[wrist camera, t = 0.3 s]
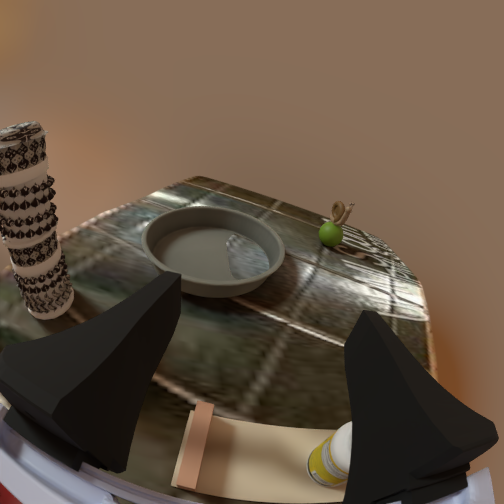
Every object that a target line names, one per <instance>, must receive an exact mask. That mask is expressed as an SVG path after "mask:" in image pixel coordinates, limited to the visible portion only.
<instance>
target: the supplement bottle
mask: <svg viewBox="0 0 504 504" xmlns="http://www.w3.org/2000/svg"><path fill="white" fill-rule="evenodd" d="M351 444H352V421H351V422H349V423H347V424H345V425H343V426H342V427H341V428H339V429H338V430H337V431H336V432H335V433H334V434H332V435H331V436H330V437H329V438H327V439H326V440H325V441H324V442H323V443H321V444H320V445H319V446H317V447H316V448H315V449H314V450H313V451H312V452H311V453H310V455H309V457H308V459H307V464H306V467H307V472H308V475H309V476H310V478H311V479H312V480H313V481H314V482H315V483H317V484H319V485H321V486H324V487H335V486H339V485H342V484H344V483H347V480H348V474H349V466H350V458H351Z"/></svg>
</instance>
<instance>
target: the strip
mask: <svg viewBox="0 0 504 504" xmlns="http://www.w3.org/2000/svg"><path fill="white" fill-rule="evenodd" d="M213 409H214V404H210V403H206V402H202V401H197V405H196V409H195V411H192V410H191V411H190V415H189V419H188V422H187V426H186V430H185V433H184V437H183V441H182V445H181V448H180V452H179V456H178V460H177V463H176V467H175V471H174V475H173V479H172V483H171V486H174V487H178V488H181V489H185V490H189V491H194V492H198V493H203V494H208V495H213V496H219V497H225V498H231V499H239V500H247V501H257V502H269V503H329V502H342V501H343V499H344V495H345V490H346V485H347V483H344V484H342V485H339V486H335V487H324V486H321V485H319V484H317V483H315V482H314V481H313V480H312V479H311V478H310V476H309V475H308V472H307V467H306V464H307V459H308V457H309V455H310V453H311V452H312V451H313V450H314V449H315V448H316V447H317V446H319V445H320V444H321V443H323V442H324V441H325V440H326V439H327V438H329V437H330V436H331V435H332V434H334V433H335V432H336V431H337V430H319V429H302V428H290V427H280V426H272V425H264V424H257V423H250V422H244V421H238V420H233V419H228V418H222V417H218V416H213Z"/></svg>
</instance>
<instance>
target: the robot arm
mask: <svg viewBox="0 0 504 504" xmlns="http://www.w3.org/2000/svg"><path fill="white" fill-rule="evenodd" d="M181 276H182V274H179V273H175V272H171V271H165V272H164V273H162V274H161V275H159V276H158V277H157V278H155V279H154V280H152V281H151V282H150V283H148V284H147V285H145V286H144V287H143V288H141V289H140V290H138V291H137V292H135V293H134V294H132V295H131V296H129V297H128V298H126V299H125V300H123V301H122V302H120V303H119V304H117V305H115V306H114V307H112V308H110V309H109V310H107V311H105V312H103V313H102V314H100V315H98V316H96V317H94V318H92V319H90V320H88V321H86V322H84V323H81V324H79V325H76V326H74V327H71V328H69V329H67V330H64V331H62V332H59V333H56V334H53V335H50V336H46V337H43V338H39V339H36V340H32V341H27V342H22V343H17V344H12V345H7V346H6V347H5V348H4V349H3V351H2V352H1V353H0V392H1V393H2V395H3V396H4V397H5V398H6V399H7V400H8V402H9V403H10V404H11V405H12V406H11V407H10V409H9V410H8V409H7V408H6V407H5V406H3V405H2V404H1V403H0V482H1V483H2V485H3V486H4V487H5V488H6V489H7V490H8V491H9V492H11V493H12V494H13V495H14V496H15V497H16V498H17V499H18V500H19V501H20V502H21V503H22V504H120V503H119V502H118V499H117V498H116V496H118V497H120V498H122V499H125V500H127V501H130V502H133V503H135V504H201V503H196V502H192V501H188V500H184V499H180V498H176V497H172V496H169V495H165V494H162V493H158V492H155V491H152V490H149V489H146V488H143V487H140V486H138V485H135V484H132V483H130V482H127V481H125V480H122V479H120V478H117V477H115V476H112V475H110V474H108V473H106V472H103V471H101V470H99V468H102V469H104V470H106V471H109V470H110V471H112V472H115V473H121V472H124V471H126V466H127V461H128V456H129V452H130V447H131V443H132V439H133V435H134V431H135V427H136V424H137V420H138V417H139V413H140V410H141V407H142V404H143V401H144V398H145V395H146V392H147V389H148V386H149V384H150V381H151V379H152V377H153V375H154V373H155V371H156V369H157V367H158V364H159V362H160V360H161V358H162V356H163V354H164V352H165V350H166V348H167V346H168V344H169V342H170V340H171V338H172V336H173V334H174V331H175V328H176V325H177V322H178V319H179V317H180V314H181ZM344 357H345V371H346V378H347V385H348V391H349V398H350V405H351V414H352V444H351V458H350V466H349V474H348V480H347V485H346V490H345V495H344V499H343V502H342V504H495V500H494V493H493V487H492V481H491V476H490V472H489V467H486V468H484V469H482V470H480V471H478V472H476V473H473V474H471V475H469V476H466V471H468V470H470V464H469V462H471V461H472V460H474V459H475V458H477V457H478V456H480V455H481V454H483V453H484V452H486V451H487V450H488V449H490V448H491V447H492V446H494V445H495V444H496V443H497V441H498V439H499V437H498V434H497V431H496V428H495V425H494V423H493V422H492V421H490V420H488V419H487V418H485V417H483V416H481V415H480V414H478V413H476V412H475V411H473V410H472V409H470V408H468V407H467V406H466V405H464V404H463V403H462V402H460V401H459V400H458V399H456V398H455V397H454V396H453V395H452V394H450V393H449V392H448V391H447V390H446V389H444V388H443V387H442V386H441V385H440V384H439V383H438V382H437V381H436V380H435V379H434V378H433V377H432V376H431V375H430V374H429V373H428V372H427V371H426V370H425V369H424V368H423V367H422V366H421V365H420V363H419V362H418V361H417V360H416V359H415V358H414V357H413V355H412V354H411V353H410V352H409V351H408V349H407V348H406V347H405V346H404V344H403V343H402V342H401V341H400V340H399V338H398V337H397V336H396V335H395V333H394V332H393V331H392V330H391V328H390V327H389V326H388V325H387V323H386V322H385V321H384V320H383V319H382V318H381V316H380V315H379V314H378V313H377V312H373V311H367V310H363V311H362V313H361V315H360V317H359V319H358V321H357V323H356V325H355V326H354V328H353V330H352V332H351V334H350V335H349V337H348V339H347V341H346V342H345V344H344ZM114 495H115V496H114Z"/></svg>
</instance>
